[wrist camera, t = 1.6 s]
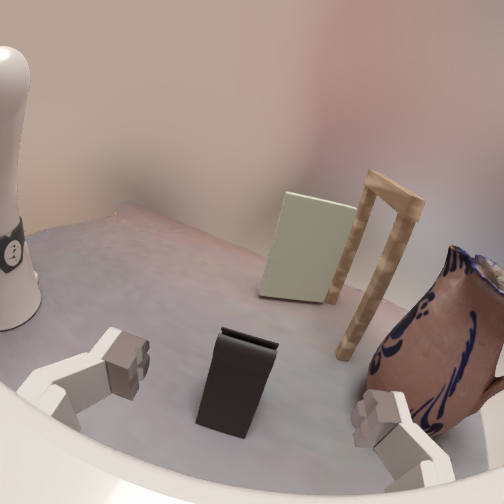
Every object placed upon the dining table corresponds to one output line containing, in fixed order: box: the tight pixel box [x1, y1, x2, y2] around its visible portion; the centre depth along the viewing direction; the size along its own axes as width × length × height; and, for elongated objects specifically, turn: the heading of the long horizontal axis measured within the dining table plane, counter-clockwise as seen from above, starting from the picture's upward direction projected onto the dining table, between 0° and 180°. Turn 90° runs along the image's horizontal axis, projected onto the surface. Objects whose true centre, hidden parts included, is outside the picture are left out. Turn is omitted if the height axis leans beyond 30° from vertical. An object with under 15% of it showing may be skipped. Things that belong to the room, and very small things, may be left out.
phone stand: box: [196, 327, 279, 438], centre depth 30 cm, size 9×6×12 cm, turn 168°
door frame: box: [325, 170, 426, 361], centre depth 46 cm, size 2×19×28 cm, turn 175°
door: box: [259, 192, 358, 302], centre depth 53 cm, size 3×13×20 cm, turn 95°
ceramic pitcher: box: [367, 245, 504, 437], centre depth 29 cm, size 18×21×25 cm
